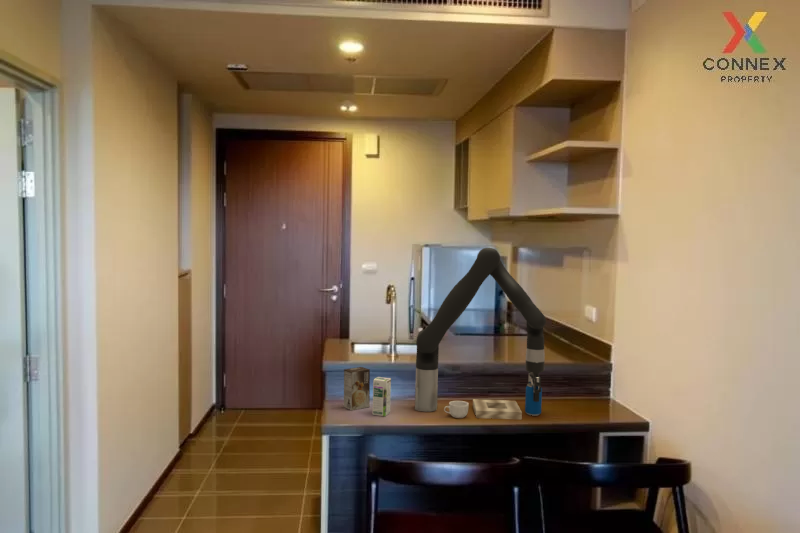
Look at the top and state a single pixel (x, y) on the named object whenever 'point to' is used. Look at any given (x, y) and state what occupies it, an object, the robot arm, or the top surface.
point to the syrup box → (381, 396)
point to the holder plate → (497, 409)
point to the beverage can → (532, 402)
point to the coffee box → (356, 388)
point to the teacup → (458, 408)
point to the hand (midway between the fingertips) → (534, 398)
